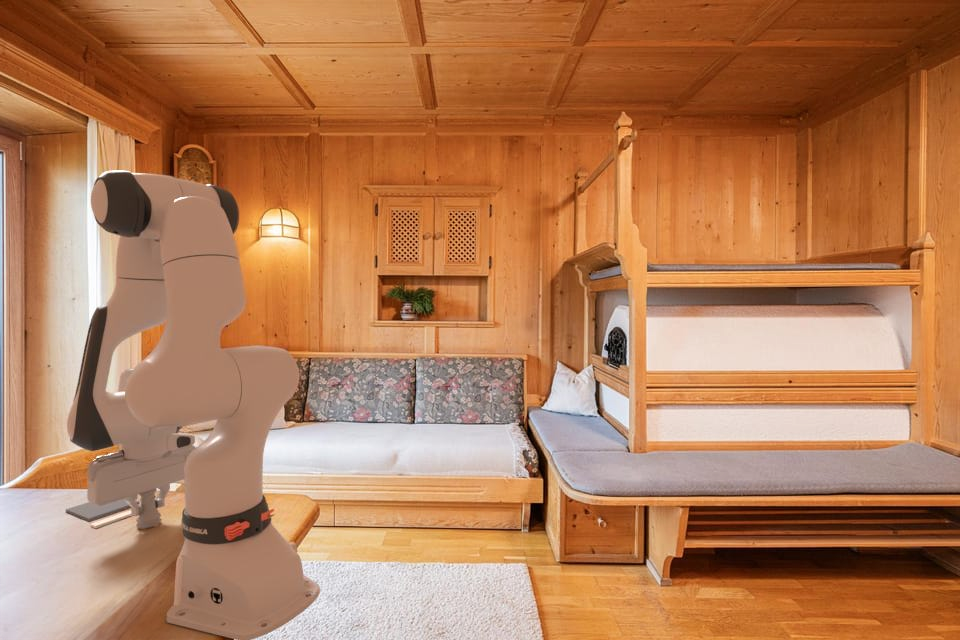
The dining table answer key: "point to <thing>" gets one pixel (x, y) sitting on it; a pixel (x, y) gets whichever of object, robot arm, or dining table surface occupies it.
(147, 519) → the rook chess piece
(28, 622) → the dining table surface
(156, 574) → the dining table surface
